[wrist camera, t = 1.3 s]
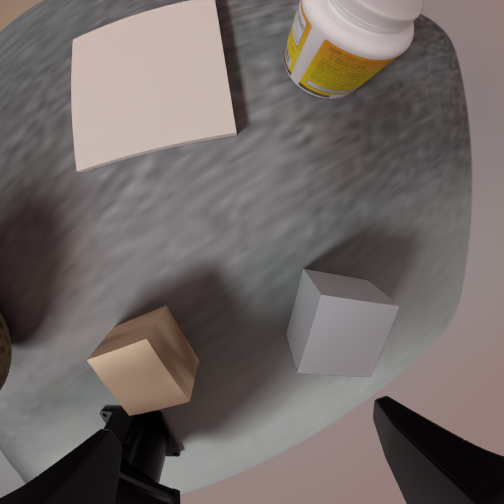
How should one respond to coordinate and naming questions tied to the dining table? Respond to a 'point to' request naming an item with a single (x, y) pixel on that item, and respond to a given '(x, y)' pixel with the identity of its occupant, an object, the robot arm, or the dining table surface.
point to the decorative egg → (4, 351)
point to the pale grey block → (338, 325)
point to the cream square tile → (149, 84)
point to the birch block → (147, 363)
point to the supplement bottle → (346, 42)
